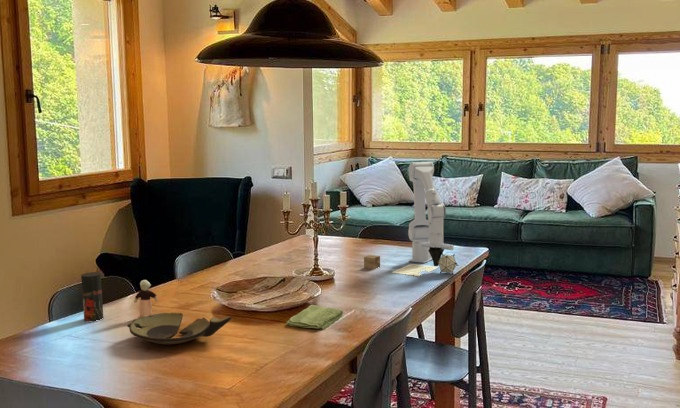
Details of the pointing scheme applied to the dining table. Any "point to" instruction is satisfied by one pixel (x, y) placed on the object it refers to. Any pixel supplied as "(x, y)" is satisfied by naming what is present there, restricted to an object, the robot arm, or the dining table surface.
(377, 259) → the walnut block
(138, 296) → the grandmother figurine
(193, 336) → the oil lamp
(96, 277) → the deodorant
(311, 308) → the washcloth
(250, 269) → the dining table surface
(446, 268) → the game die
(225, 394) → the dining table surface
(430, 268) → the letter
